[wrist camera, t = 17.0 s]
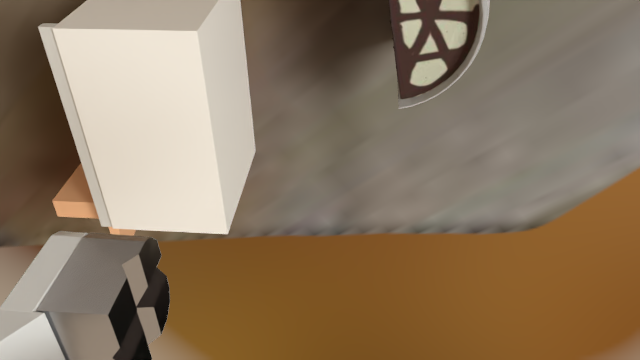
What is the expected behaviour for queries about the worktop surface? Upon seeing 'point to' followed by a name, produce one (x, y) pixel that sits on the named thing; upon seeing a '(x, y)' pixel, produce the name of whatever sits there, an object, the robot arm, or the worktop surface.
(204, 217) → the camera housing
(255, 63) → the worktop surface
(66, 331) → the robot arm
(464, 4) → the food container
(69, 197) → the side door
